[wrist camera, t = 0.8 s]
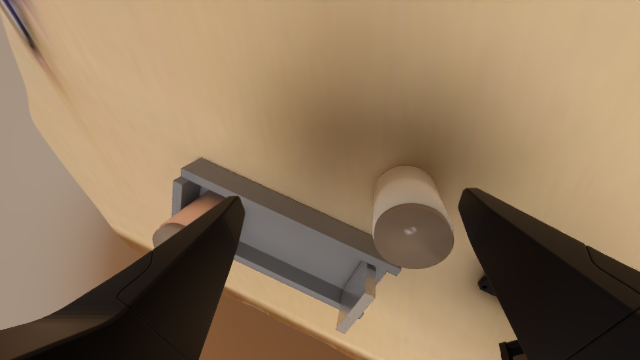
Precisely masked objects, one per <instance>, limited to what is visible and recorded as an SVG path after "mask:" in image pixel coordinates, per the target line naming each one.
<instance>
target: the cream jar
mask: <svg viewBox="0 0 640 360" xmlns="http://www.w3.org/2000/svg"><path fill="white" fill-rule="evenodd" d="M372 235H373V239H374V244H375V247H376V249H377V251H378V252H379V254H380V255H381V256H382V257H383V258H384V259H386V260H387V261H388V262H390V263H392V264H394V265H397V266H400V267H403V268H409V269H421V268H427V267H431V266H433V265H436V264H438V263H440V262H441V261H443V260H444V259H445V258H446V257H447V256H448V255H449V254H450V252H451V250H452V248H453V244H454V236H453V226H452V223H451V221H450V219H449V216H448V214H447V212H446V209H445V207H444V204H443V202H442V200H441V197H440V195H439V193H438V190H437V188H436V186H435V183H434V181H433V179H432V178H431V176H430V175H429V174H428V173H427V172H425V171H424V170H422V169H420V168H417V167H413V166H398V167H394V168H392V169H390V170H388V171H386V172H385V173H384V174H382V175H381V176H380V178H379V179H378V181H377V183H376V185H375V191H374V208H373V224H372Z"/></svg>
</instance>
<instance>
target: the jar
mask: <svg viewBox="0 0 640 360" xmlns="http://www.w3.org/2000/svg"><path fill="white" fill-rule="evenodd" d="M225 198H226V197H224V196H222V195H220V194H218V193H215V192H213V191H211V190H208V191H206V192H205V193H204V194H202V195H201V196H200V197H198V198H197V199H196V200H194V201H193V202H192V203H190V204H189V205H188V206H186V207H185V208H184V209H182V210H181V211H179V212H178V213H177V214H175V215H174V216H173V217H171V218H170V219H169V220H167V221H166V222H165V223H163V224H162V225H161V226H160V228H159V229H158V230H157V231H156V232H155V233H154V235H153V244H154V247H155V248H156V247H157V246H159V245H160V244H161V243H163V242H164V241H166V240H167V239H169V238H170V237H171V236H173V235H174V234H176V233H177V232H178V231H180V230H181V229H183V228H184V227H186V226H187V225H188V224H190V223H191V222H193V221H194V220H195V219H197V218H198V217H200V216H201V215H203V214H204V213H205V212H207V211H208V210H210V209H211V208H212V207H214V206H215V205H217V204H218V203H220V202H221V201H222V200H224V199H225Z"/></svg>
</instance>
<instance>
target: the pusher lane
mask: <svg viewBox="0 0 640 360" xmlns="http://www.w3.org/2000/svg"><path fill="white" fill-rule="evenodd" d="M208 190H211V191H213V192H215V193H218V194H220V195H222V196H224V197H226V198H227V197H228V196H239V197H240V198H241V201H242V204H243V207H244V209H245V217H244V222H243V226H242V231H241V235H240V240H239V244H238V248H237V251H236V254H235V257H234V259H233V260H235V261H237V262H239V263H242V264H244V265H246V266H248V267H250V268H252V269H254V270H256V271H258V272H261V273H263V274H265V275H267V276H269V277H271V278H273V279H275V280H278V281H280V282H282V283H284V284H286V285H288V286H290V287H292V288H295V289H297V290H299V291H301V292H303V293H305V294H307V295H309V296H311V297H314V298H316V299H318V300H320V301H322V302H324V303H326V304H328V305H331V306H333V307H335V308H337V309H340V304H341V298H342V292H343V288H344V287H345V285H346V284H347V282H348V281H349V279H350V278H351V277H352V275H353V274H354V272H355V271H356V269H357V268H358V266H359V265H360V264H361V262H362V261H365V262H367V263H369V264H371V265H373V266H375V267H376V285H377V283H378V282H379V281H380V280H381V278H382V277H383V276H384V275H385V273H386V272H388V273H391V274H393V275H395V276H397V275H398V274H399V272H400V271H401V267H400V266H397V265H394V264H392V263H390V262H388V261H387V260H386V259H384V258H383V257H382V256H381V255H380V254H379V252H378V251H377V249H376V247H375V244H374V239H373V236H371V235H369V234H367V233H364V232H362V231H360V230H358V229H356V228H354V227H351V226H349V225H347V224H345V223H343V222H340V221H338V220H336V219H334V218H332V217H330V216H327V215H325V214H323V213H321V212H319V211H316V210H314V209H312V208H310V207H308V206H306V205H303V204H301V203H299V202H297V201H295V200H292V199H290V198H288V197H286V196H284V195H282V194H279V193H277V192H275V191H273V190H271V189H268V188H266V187H264V186H262V185H260V184H258V183H255V182H253V181H251V180H249V179H247V178H244V177H242V176H240V175H238V174H236V173H234V172H231V171H229V170H227V169H225V168H223V167H220V166H218V165H216V164H214V163H212V162H210V161H207V160H205V159H203V158H200V159H198V160H196V161H194V162H192V163H190V164H188V165H187V166H185V167H183V168H181V177H179V178H177V179H175V180H174V181H173V196H172V217H173V216H174V215H175V214H177V213H178V212H179V211H181V210H182V209H184V208H185V207H186V206H188V205H189V204H190V203H192V202H193V201H194V200H196V199H197V198H198V197H200V196H201V195H202V194H204V193H205V192H206V191H208ZM363 314H364V312H363V313H362V314H361V315H360V317H359V318H358V319H360V318H361V317H362V316H363Z"/></svg>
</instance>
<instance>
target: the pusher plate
mask: <svg viewBox="0 0 640 360" xmlns="http://www.w3.org/2000/svg"><path fill="white" fill-rule="evenodd" d="M375 292H376V267H375V266H373V265H371V264H369V263H367V262H365V261H362V262H361V264H360V265H359V266H358V268H357V269H356V271H355V272H354V274H353V275H352V277H351V278H350V279H349V281H348V282H347V284H346V285H345V287H344V288H343V292H342V298H341V304H340V309H339V315H338V321H337V327H336V330H337V331H340V332H342V333H344V334H345V333H346V332H347V331H348V330H349V328H350V327H351V326H352V325H353V324H354V323H355V321H356V320H357V319H358V318H359V317H360V315H361V314H362V313H363V312H364V311H365V309H366V308H367V307H368V306H369V305H370V303H371V302H372V301H373V300H374V299H375Z"/></svg>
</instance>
